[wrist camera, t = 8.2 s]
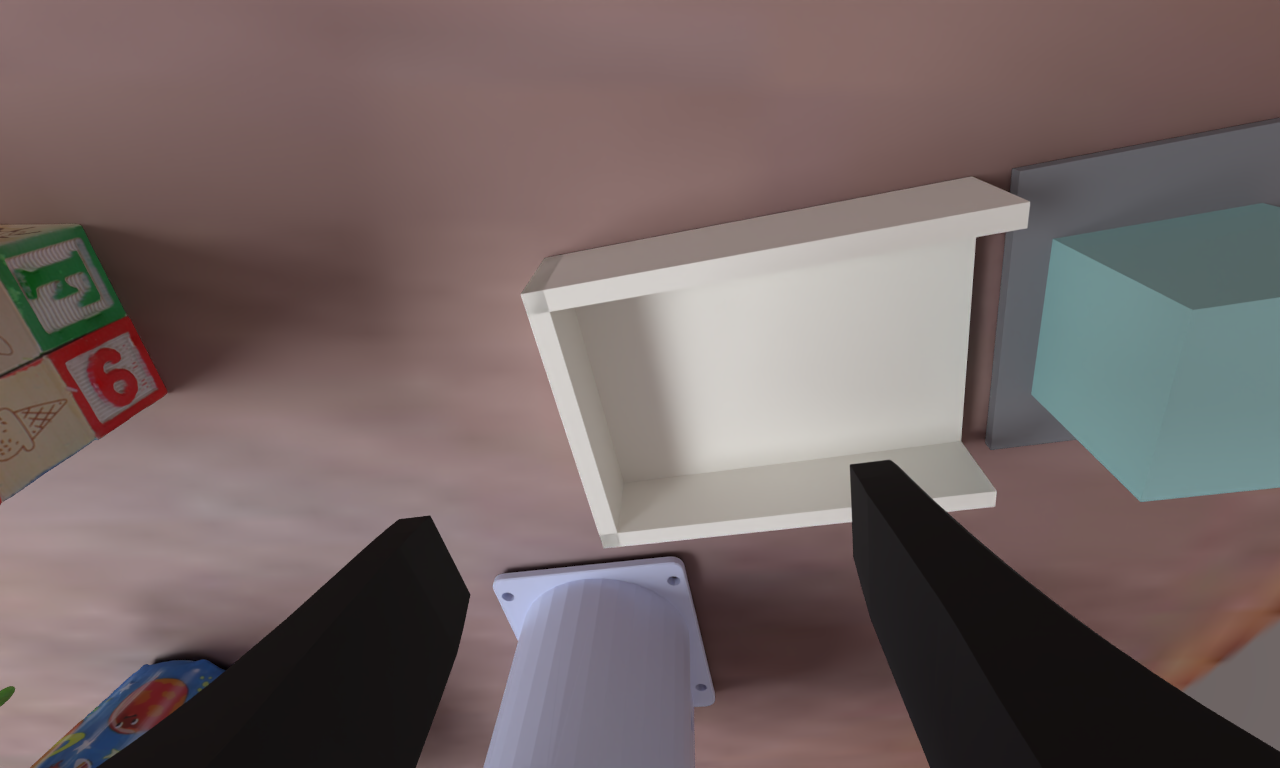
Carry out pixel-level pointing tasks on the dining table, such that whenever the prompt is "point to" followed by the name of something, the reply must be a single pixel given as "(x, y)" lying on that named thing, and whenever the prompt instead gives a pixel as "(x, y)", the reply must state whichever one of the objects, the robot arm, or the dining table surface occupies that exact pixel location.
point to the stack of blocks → (62, 352)
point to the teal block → (1169, 351)
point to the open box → (769, 361)
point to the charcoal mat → (1100, 200)
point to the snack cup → (127, 712)
